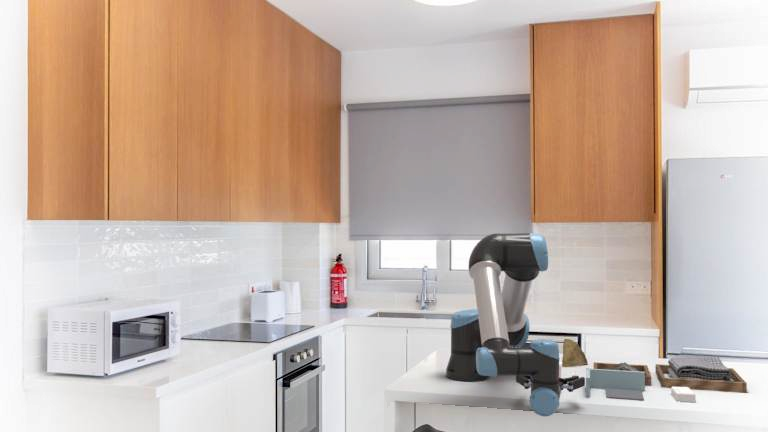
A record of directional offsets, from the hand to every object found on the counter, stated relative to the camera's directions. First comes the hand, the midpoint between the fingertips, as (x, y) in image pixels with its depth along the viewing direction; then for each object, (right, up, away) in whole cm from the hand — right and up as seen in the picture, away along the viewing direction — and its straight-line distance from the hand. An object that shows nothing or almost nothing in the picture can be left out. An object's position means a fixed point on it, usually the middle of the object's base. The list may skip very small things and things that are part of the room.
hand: (551, 374), depth 216 cm
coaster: (+24, -7, +3) cm, 25 cm away
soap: (+41, -8, -1) cm, 41 cm away
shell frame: (+31, -7, +26) cm, 41 cm away
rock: (+20, -8, +47) cm, 52 cm away
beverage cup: (+3, -8, +9) cm, 12 cm away
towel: (+56, -8, +21) cm, 60 cm away
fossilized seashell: (+33, -8, +26) cm, 43 cm away
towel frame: (+55, -7, +20) cm, 59 cm away
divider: (+22, -7, +5) cm, 23 cm away
